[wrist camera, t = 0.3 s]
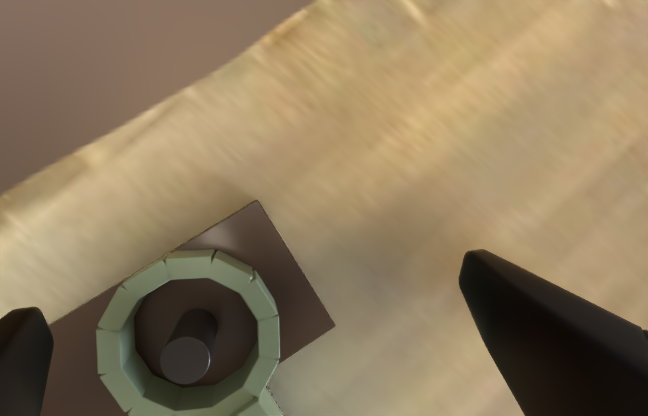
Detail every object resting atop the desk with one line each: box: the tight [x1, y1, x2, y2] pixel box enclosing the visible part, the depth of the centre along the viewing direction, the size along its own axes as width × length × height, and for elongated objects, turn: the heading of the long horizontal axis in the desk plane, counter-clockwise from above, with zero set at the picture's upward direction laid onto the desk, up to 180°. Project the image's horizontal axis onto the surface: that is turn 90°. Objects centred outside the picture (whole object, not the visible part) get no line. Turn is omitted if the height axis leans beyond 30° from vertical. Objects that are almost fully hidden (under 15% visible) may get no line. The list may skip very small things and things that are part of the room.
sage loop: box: [96, 249, 284, 416], centre depth 21 cm, size 16×8×3 cm, turn 32°
